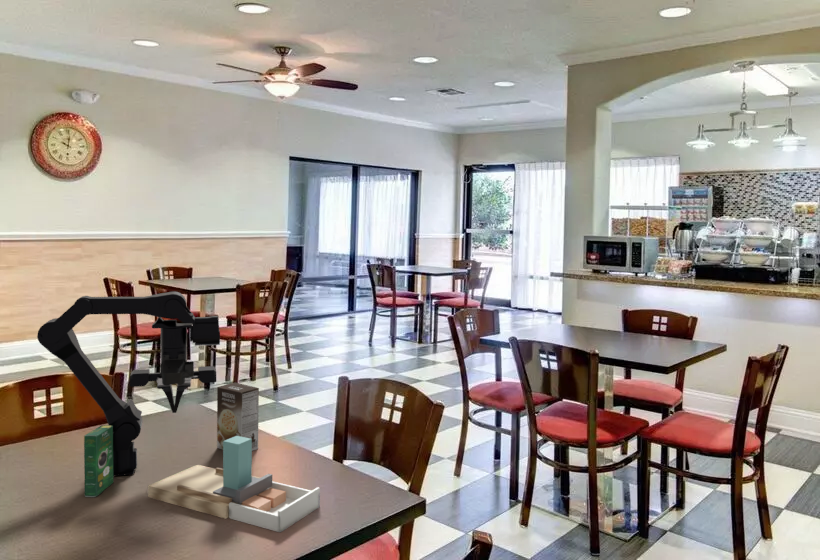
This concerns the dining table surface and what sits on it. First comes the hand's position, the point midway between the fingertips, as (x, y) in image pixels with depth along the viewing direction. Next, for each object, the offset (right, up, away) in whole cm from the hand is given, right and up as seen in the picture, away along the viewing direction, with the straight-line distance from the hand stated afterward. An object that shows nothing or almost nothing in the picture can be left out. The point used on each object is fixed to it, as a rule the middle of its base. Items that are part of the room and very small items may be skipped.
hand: (174, 412), depth 155 cm
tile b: (+25, -15, -23) cm, 37 cm away
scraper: (+21, -12, -19) cm, 31 cm away
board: (+13, -15, -15) cm, 24 cm away
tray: (+28, -16, -22) cm, 39 cm away
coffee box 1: (-11, -14, -13) cm, 22 cm away
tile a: (+27, -15, -19) cm, 36 cm away
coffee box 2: (+11, -12, +14) cm, 22 cm away
